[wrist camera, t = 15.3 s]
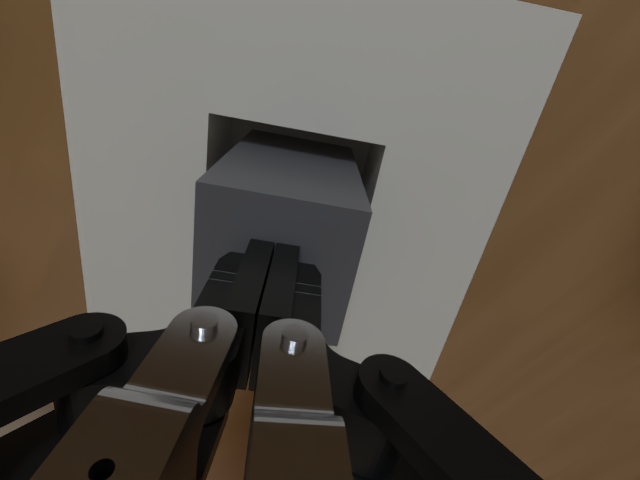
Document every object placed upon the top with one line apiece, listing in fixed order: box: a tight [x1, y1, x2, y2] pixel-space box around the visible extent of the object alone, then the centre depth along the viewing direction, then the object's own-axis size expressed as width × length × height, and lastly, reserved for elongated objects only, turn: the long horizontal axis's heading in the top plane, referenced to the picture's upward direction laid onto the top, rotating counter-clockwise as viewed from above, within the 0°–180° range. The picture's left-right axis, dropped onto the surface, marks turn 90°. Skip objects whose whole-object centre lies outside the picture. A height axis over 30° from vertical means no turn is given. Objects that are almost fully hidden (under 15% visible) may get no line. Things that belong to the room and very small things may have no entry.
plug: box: [191, 129, 372, 346], centre depth 15 cm, size 5×5×9 cm
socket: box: [51, 0, 582, 380], centre depth 18 cm, size 18×18×5 cm
